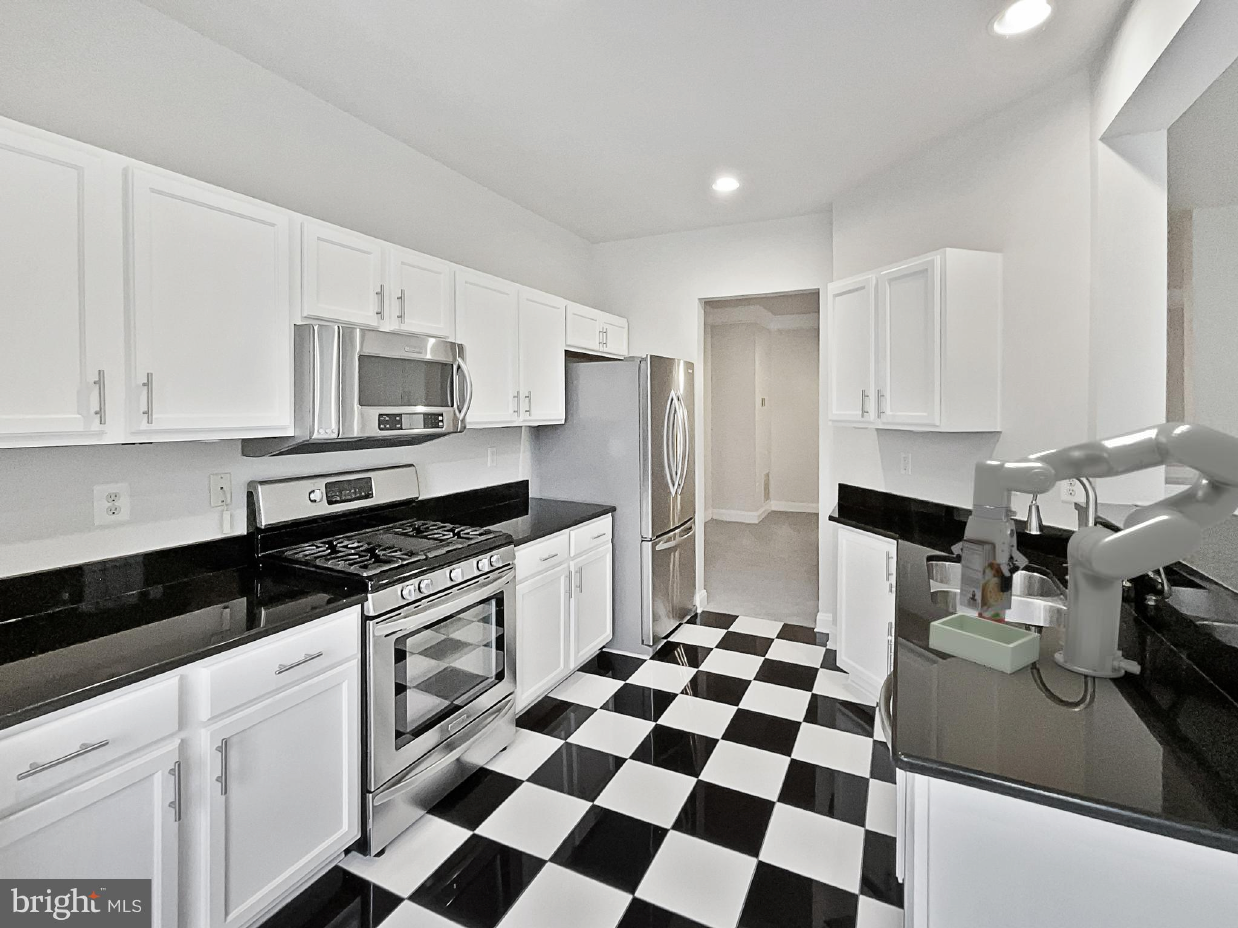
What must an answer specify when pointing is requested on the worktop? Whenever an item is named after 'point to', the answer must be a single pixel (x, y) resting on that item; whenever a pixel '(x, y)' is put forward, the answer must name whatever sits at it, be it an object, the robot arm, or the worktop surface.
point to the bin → (985, 642)
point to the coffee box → (982, 578)
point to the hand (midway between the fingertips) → (985, 586)
